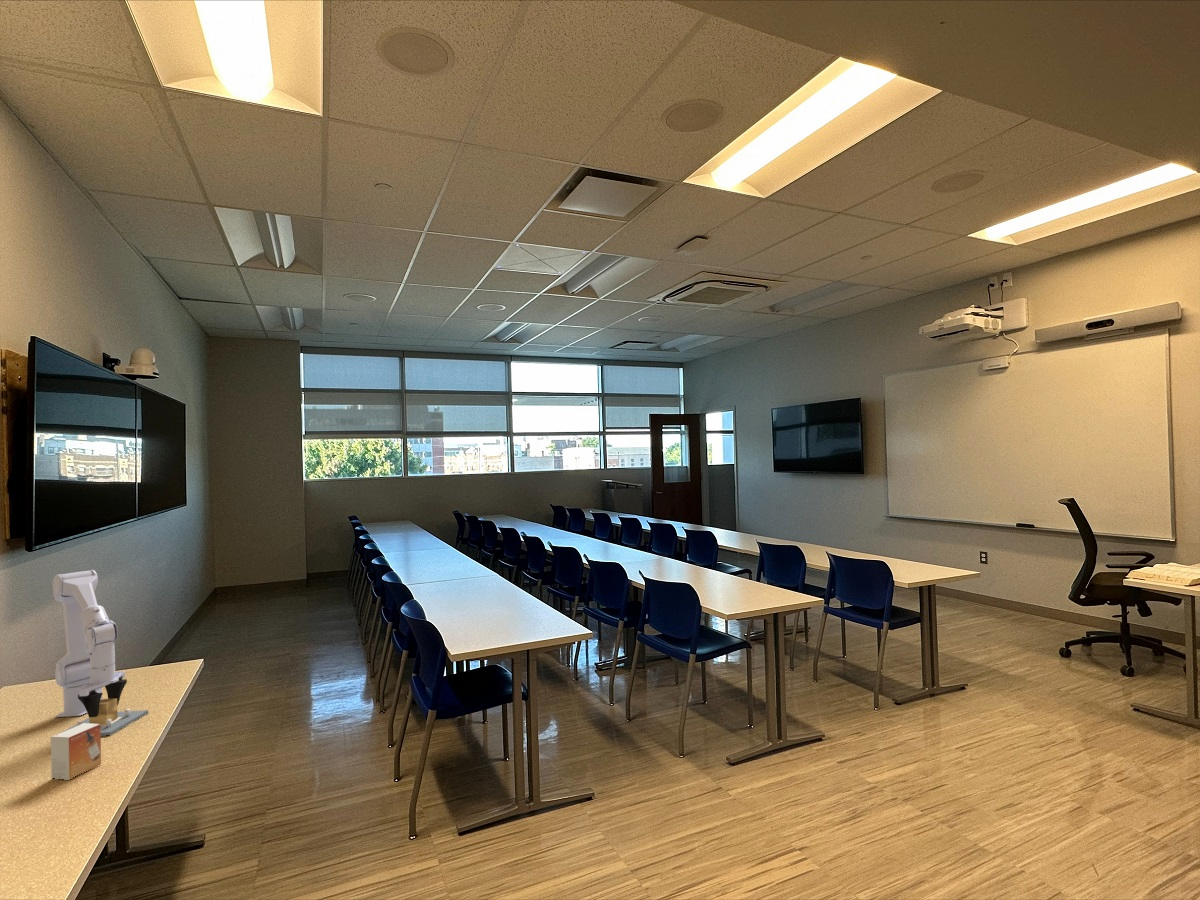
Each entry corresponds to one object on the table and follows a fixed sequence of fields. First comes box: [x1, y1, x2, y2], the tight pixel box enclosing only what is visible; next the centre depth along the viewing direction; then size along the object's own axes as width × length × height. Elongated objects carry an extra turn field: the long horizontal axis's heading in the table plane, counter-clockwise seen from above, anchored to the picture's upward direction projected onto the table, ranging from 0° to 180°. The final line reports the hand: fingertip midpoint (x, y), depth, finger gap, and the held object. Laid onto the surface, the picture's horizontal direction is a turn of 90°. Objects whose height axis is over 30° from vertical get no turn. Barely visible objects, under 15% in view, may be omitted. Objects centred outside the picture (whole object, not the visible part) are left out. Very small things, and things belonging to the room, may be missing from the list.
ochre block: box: [88, 698, 118, 725], centre depth 177 cm, size 4×5×6 cm
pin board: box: [58, 708, 149, 737], centre depth 177 cm, size 15×15×3 cm
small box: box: [50, 723, 102, 781], centre depth 150 cm, size 8×6×10 cm
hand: (103, 711), depth 177 cm, fingers open, 7 cm apart
